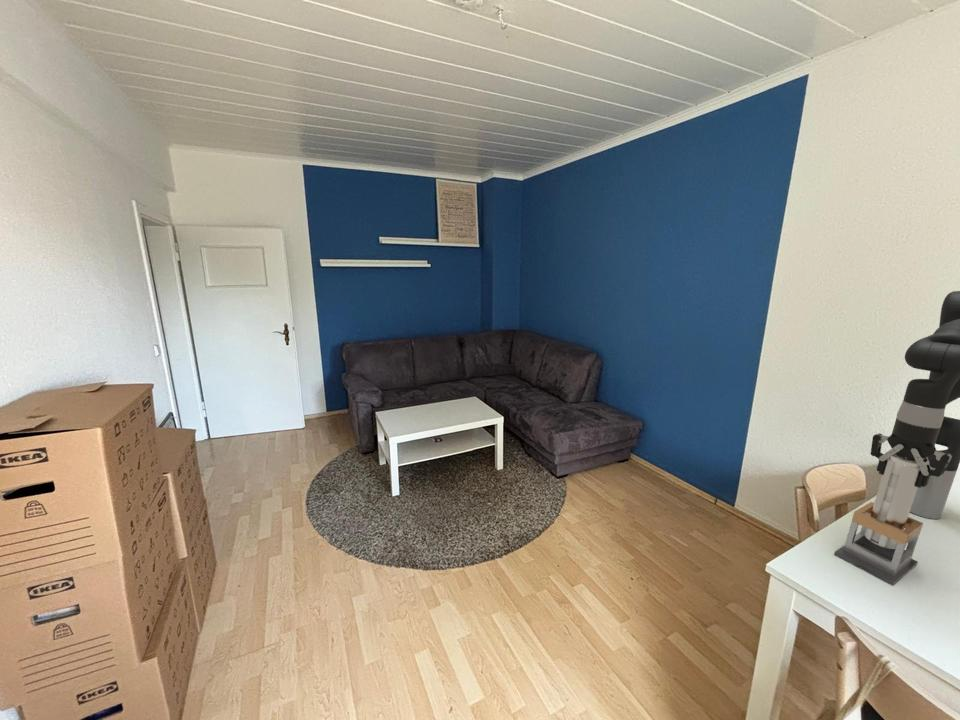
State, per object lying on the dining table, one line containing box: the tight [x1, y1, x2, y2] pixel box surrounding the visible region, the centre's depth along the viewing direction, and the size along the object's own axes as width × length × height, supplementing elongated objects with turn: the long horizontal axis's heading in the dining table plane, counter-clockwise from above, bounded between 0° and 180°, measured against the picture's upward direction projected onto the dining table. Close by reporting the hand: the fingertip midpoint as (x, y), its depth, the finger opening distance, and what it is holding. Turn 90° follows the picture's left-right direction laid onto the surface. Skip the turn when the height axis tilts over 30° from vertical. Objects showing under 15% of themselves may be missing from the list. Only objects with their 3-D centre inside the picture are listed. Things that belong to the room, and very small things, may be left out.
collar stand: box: [833, 501, 924, 586], centre depth 105 cm, size 16×12×14 cm
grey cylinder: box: [865, 454, 921, 549], centre depth 103 cm, size 6×6×25 cm
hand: (899, 479), depth 101 cm, fingers closed on grey cylinder, 6 cm apart
